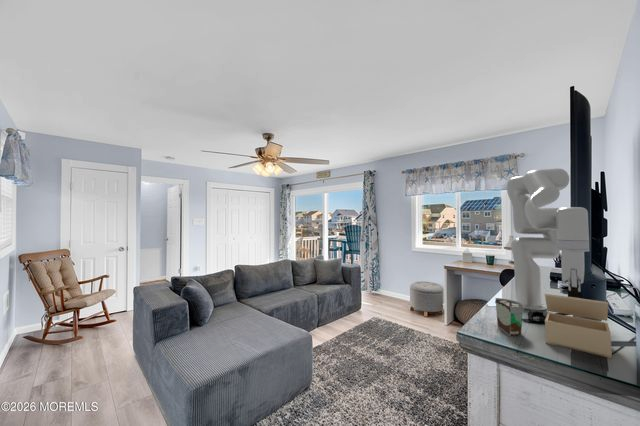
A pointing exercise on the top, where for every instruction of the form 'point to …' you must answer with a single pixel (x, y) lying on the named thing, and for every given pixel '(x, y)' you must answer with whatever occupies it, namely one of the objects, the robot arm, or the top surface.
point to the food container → (509, 316)
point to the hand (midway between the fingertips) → (575, 303)
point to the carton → (578, 334)
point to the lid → (577, 306)
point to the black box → (535, 314)
